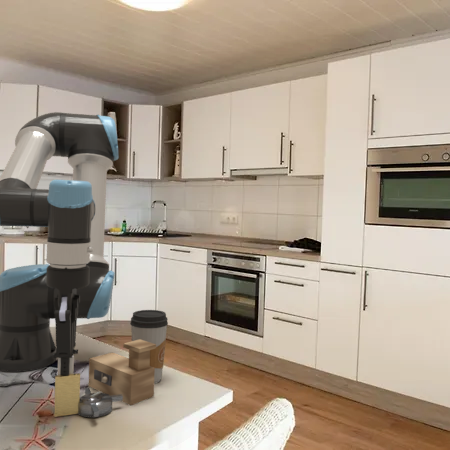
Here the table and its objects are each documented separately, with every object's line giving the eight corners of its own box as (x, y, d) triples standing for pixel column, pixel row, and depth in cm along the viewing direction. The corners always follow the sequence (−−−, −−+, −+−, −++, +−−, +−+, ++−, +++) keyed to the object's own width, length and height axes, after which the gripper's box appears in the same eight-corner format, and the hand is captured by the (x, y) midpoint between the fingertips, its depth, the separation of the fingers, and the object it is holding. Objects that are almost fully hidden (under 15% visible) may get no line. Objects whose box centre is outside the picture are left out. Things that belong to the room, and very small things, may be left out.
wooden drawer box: (84, 387, 101) (85, 337, 100) (112, 378, 106) (113, 330, 106) (126, 407, 92) (127, 352, 92) (154, 396, 98) (156, 344, 97)
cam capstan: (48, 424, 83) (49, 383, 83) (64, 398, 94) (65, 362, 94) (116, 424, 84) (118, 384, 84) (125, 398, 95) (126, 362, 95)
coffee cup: (158, 388, 102) (161, 319, 101) (122, 384, 103) (124, 316, 103) (171, 375, 110) (173, 311, 109) (137, 371, 112) (138, 308, 111)
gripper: (86, 271, 81) (81, 404, 83) (93, 260, 93) (89, 376, 95) (39, 270, 80) (36, 406, 82) (53, 259, 92) (50, 377, 94)
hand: (65, 390), depth 88 cm, fingers closed
